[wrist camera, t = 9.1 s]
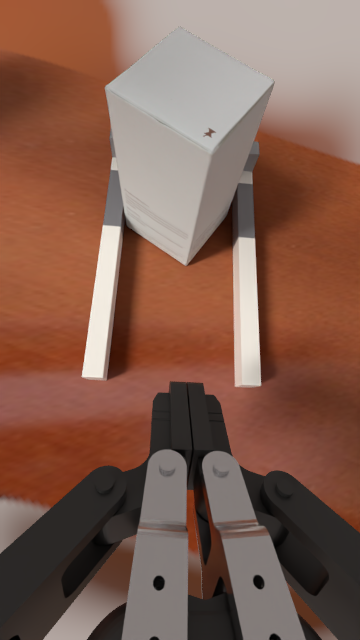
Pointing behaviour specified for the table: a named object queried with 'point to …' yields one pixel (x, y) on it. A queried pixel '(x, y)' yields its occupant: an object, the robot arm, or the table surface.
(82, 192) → the table surface
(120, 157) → the supplement box
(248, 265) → the guide channel
